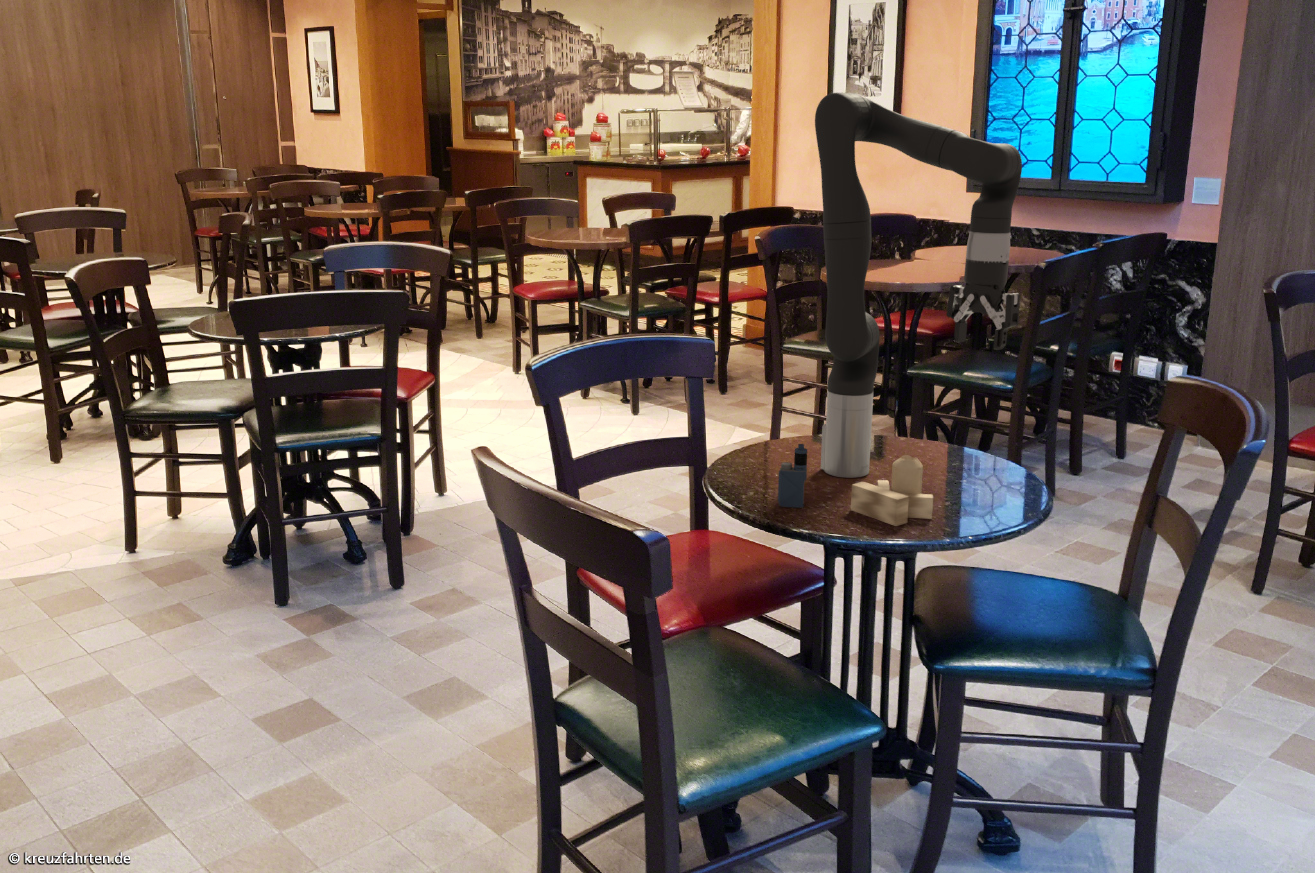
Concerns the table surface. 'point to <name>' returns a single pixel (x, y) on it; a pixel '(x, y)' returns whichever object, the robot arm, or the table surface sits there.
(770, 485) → the table surface
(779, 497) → the vaping device
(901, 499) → the letter k block
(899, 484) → the candle
